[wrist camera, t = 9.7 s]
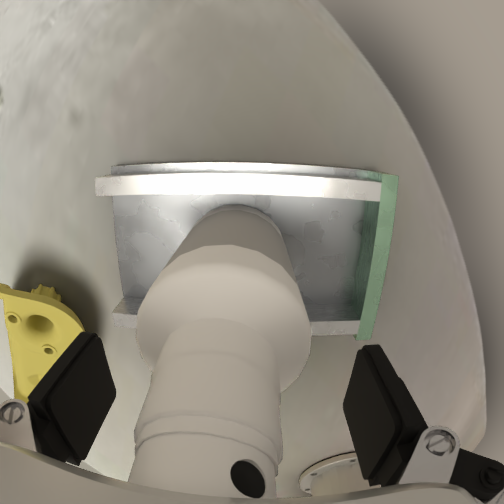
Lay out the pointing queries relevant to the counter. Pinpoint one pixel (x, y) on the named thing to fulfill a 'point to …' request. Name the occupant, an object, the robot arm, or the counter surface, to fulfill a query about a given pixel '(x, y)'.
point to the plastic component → (36, 333)
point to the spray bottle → (219, 359)
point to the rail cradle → (281, 213)
